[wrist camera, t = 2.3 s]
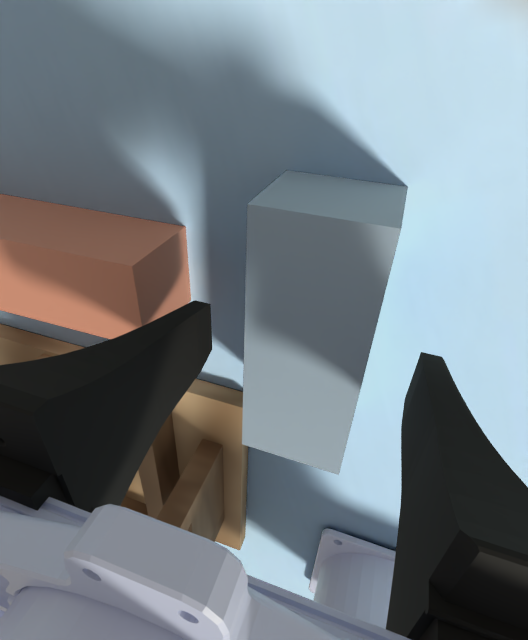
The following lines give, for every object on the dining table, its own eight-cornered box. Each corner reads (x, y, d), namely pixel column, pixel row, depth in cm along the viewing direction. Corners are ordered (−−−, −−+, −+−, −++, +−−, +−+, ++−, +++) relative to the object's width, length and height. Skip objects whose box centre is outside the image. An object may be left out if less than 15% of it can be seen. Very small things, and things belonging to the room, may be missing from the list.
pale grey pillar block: (408, 184, 13) (400, 228, 10) (353, 403, 19) (338, 474, 16) (288, 168, 14) (247, 203, 11) (272, 380, 20) (242, 444, 16)
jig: (250, 393, 20) (193, 503, 15) (245, 536, 28) (206, 638, 23) (-2, 323, 24) (-111, 393, 19) (57, 466, 32) (-10, 541, 27)
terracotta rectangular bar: (188, 224, 16) (132, 266, 13) (193, 297, 18) (145, 348, 15) (-83, 177, 20) (-178, 201, 17) (-54, 242, 22) (-134, 274, 19)
